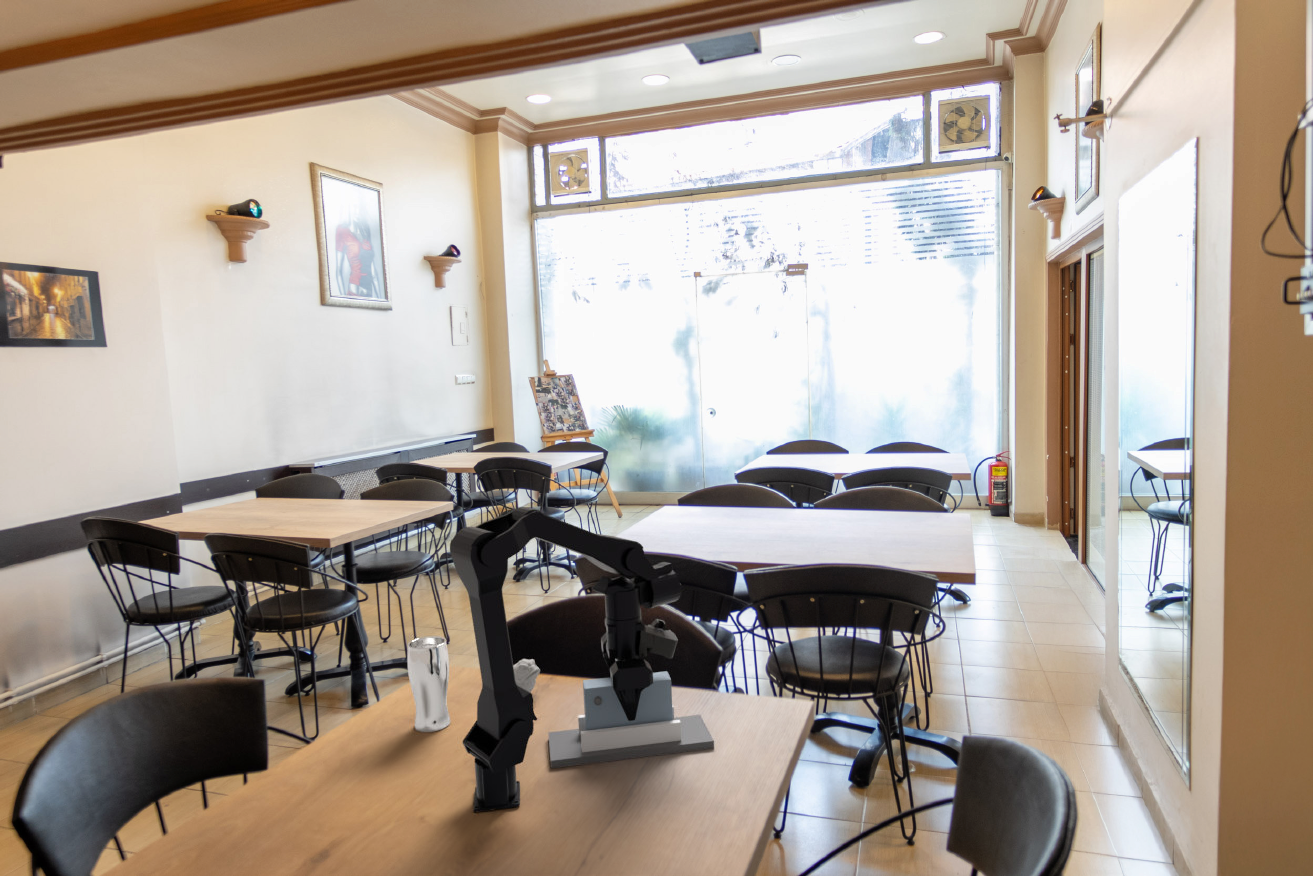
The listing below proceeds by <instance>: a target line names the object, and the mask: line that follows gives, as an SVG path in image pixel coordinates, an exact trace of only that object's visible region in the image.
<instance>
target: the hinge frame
mask: <svg viewBox="0 0 1313 876" xmlns="http://www.w3.org/2000/svg"><path fill="white" fill-rule="evenodd" d="M672 712H673V721H664V722H656V723H647V724H639V725H630V726H622V727H613V728H605V729H596V730H588V731H586V729H585V714H579V715H577V720H578V723H577V724H578V728H575V729H566V730H557V731H549V732H548V747H549V760H550V769H556V768H564V767H571V766H572V767H573V766H581V765H588V764H589V765H590V764H596V763H603V762H604V763H605V762H612V761H619V760H620V761H621V760H629V759H637V758H645V757H652V756H661V755H668V754H677V753H685V752H693V751H701V750H709V749H715V740H714V738H713V736H712V734H711V733H710V731H709V729H708V727H707V725H706V723H705V721H704V719H703V718H702V716H701V714H695V715H694V714H693V715H685V716H679V717H677V716H675V707H674V704H672Z"/></svg>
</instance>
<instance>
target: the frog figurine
mask: <svg viewBox="0 0 1313 876" xmlns="http://www.w3.org/2000/svg"><path fill="white" fill-rule="evenodd" d="M513 668H514V674H515V681H516V684H517V685H518V686H519V687H521V688H523V689H525V690H527V691H528V692H530V693H532V691H533V690H534V688H535V686H536V683H537V681H536V680H537V678H538V676H539V675H540V672H541V669H540V668H539V667H538V666H537V664H536V662H535V659H533V658H531V659H527V658H522V659H520V660H518V662H517V663H515V664H513Z"/></svg>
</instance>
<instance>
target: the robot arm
mask: <svg viewBox="0 0 1313 876" xmlns="http://www.w3.org/2000/svg"><path fill="white" fill-rule="evenodd" d="M534 539H537V540H540V541H543V542H545V543H548V544H551V545H554V546H557V547H560V548H562V549H565V550H568V551H571V552H573V553H575V554H576V553H577V554H579V555H581V556H583V557H584V558H585V559H587V560H588V561H589V562H590V563H591V564H593V565H595V566H596V567H598V568H600V569H601V570H603V571H605V572H609V573H612V574H616V575H619V576H618V577H614V578H611V577H608V576H605V575H601V577H600V579H599V580H598V581H597V582H596V583H595V584H594V586H592V588H591V589H592V592H596V593H598V594H602V595H604V603H605V604H604V606H605V607H604V608H605V618H604V626H605V628H606V632H605V633H604V634H603V635H602V636H601V637H600V643H601V647H600V648H601V651H602V656H603V658H604V661H605V663H606V666H607V668H608V671H609V673H610V677H611V683H612V686H613V689H614V691H615V693H616V695H617V697H618V699H619V702H620V704H621V706H622V708H623V710H624V712H625V715H626V717H627V719H628V721H634V720H635V718H636V714H637V709H638V704H639V700H640V695H641V692H642V691H643V690H644V689H645V688H647V687H649V686H650V685H651V684H653V673H654V671H653V670H652V667H651V664H650V663H649V662H648V661H646V659H644V658H642V657H647V656H648V652H649V653H651V654H655V655H659V656H663V657H664V658H665V659H666V658H667V659H673V658H674V654H675V651H676V647H677V644H678V641H679V639H678V637H677V636H676V633H674V632H673V631H672V630H671V629H668V630H667V624H666V622H665V620H663V619H658V618H655V619H654V620H653V621H652V622H651V623H650V624H648V625H646V624H645V623H644V622H643V618H642V608H641V606H642V607H643V608H644V609H649V610H650V609H654V608H656V607H660V606H664V605H666V604H671V603H674V602H677V601H678V600H679V599H680V598H681V595H682V587H683V586H682V584H681V582H680V578H679V577H678V574H677V573H676V572H675V571H674V570H673V563H672V562H666V561H662V562H658V563H657V564H655V565H653V564H652V563H651V562H650V561H649V560H648V558H647V557H646V555H645V551H644V550H645V549H644V546H643V545H642V544H641V543H640V542H638V541H635V540H630V539H626V538H622V537H618V536H613V535H610V534H609V535H607V534H600V533H594V532H592V531H589V530H586V529H583V528H581V527H579V526H576V525H574V524H571V523H568V522H566V521H564V520H562V519H558V518H555V517H553V516H550V515H548V514H545V513H544V512H542V511H541V510H539V509H535V508H532V507H531V508H530V507H526V506H519V507H517V508H515V509H513V510H512V511H509V512H507V513H506V514H503V515H500V516H498V517H495V518H492V519H489V520H486V521H484V522H482V523H480V524H478V525H476V526H466V527H464V528H461V529H460V530H459V531H458V532H456V533H455V535H454V536H453V538H452V539H451V540H450V543H449V554H450V556H451V560H452V563H453V565H454V568H455V571H456V574H457V575H458V577H459V579H460V580H461V582H462V584H463V586H464V588H465V590H466V592H467V594H468V600H469V606H470V612H471V619H472V624H473V625H472V626H473V632H474V638H475V645H476V651H477V658H478V665H479V671H480V677H481V686H482V687H481V690H480V694H479V696H478V699H477V701H476V702H477V703H476V704H477V705H476V707H477V709H476V711H477V712H476V721H475V722H474V723H473V725H472V727H471V728H470V730H469V731H468V732H467V734H466V735H465V737H464V738H463V740H462V745H463V746H464V747H463V748H464V749H465V751H466V753H468V754H470V755H471V756H473V757H474V772H475V773H474V774H475V785H476V786H475V787H474V788H475V789H474V797H473V805H472V811H473V813H474V812H475V813H478V812H479V813H480V812H487V811H494V810H500V809H501V810H503V809H509V808H517V807H519V806H520V805H521V782H520V781H519V780H517V771H516V770H517V768H516V766H517V765H519V764H521V763H523V762H524V759H525V755H526V750H527V748H528V743H529V739H530V738H531V736H533V734H534V729H535V725H534V724H535V723H534V721H537V720H538V718H537V716H536V714H535V711H534V697H533V693H532V692H528V691H527V690H525V689H523V688H521V687H519V686H518V685H517V684H516V681H515V674H514V668H513V665H514V663H513V661H514V660H513V655H512V648H511V642H510V633H509V629H508V622H507V616H506V607H505V602H504V596H503V588H504V585H505V584H504V583H505V581H506V577H507V575H508V571H509V559H510V558H511V557H513V556H516V555H517V554H518V553H520V552H521V551H522V550H523V549H524V548H525V547H526V545H528V544H529V543H530V541H531V540H534ZM632 577H633V578H632ZM639 657H641V658H639Z"/></svg>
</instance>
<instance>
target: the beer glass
mask: <svg viewBox="0 0 1313 876" xmlns="http://www.w3.org/2000/svg"><path fill="white" fill-rule="evenodd" d="M449 660H450V659H449V650H448V646H447V639H446V638H445V637H444V636H440V635H439V636H437V635H429V636H427V635H426V636H423V637H417V638H415V639H413V640H411V641H409V642H408V643H407V672H408V673H407V675H408V678H409V679H408V680H409V684H410V688H411V692H412V695H413V696H412V697H413V700H414V703H415V718H414V719H415V720H414V729H415V730H416V731H418V732H419V733H434V732H437V731H441V730H444V729H445V728H447V727H448V726H449V725H450V723H451V717H450V713H449V709H448V705H447V704H448V703H447V702H448V700H447V699H448V698H447V696H448V687H449V679H450V661H449Z"/></svg>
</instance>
